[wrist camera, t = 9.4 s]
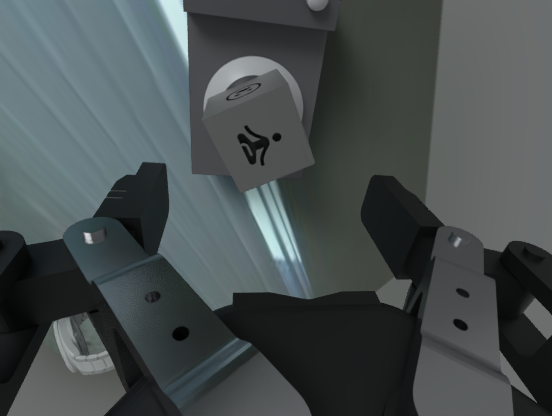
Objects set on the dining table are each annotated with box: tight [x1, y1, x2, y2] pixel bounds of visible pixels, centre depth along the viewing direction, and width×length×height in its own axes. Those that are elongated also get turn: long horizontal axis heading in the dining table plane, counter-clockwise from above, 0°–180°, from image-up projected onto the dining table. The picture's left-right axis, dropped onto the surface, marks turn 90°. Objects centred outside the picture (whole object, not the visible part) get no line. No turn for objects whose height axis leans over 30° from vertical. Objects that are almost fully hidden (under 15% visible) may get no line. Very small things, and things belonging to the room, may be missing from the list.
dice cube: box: [202, 69, 315, 193], centre depth 20 cm, size 5×5×5 cm
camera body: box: [183, 0, 341, 179], centre depth 23 cm, size 14×9×7 cm, turn 173°
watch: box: [54, 312, 115, 375], centre depth 31 cm, size 6×8×11 cm
